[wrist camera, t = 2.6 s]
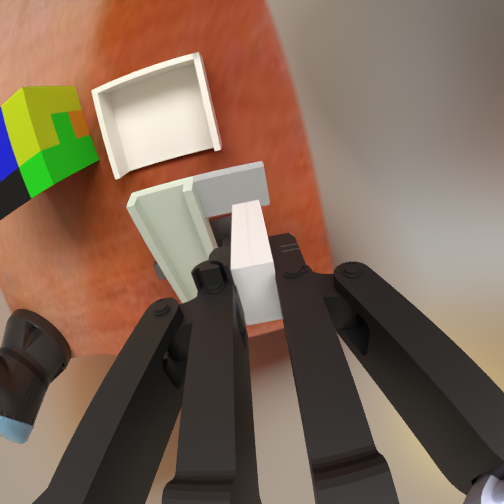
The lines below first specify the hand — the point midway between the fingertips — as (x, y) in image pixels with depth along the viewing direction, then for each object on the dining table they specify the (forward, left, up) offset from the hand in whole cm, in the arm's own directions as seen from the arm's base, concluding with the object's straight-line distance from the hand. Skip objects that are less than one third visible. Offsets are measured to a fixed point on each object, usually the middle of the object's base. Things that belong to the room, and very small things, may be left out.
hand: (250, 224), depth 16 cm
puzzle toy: (-21, +10, -16) cm, 28 cm away
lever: (-4, -8, -12) cm, 15 cm away
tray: (-7, +8, -16) cm, 19 cm away
